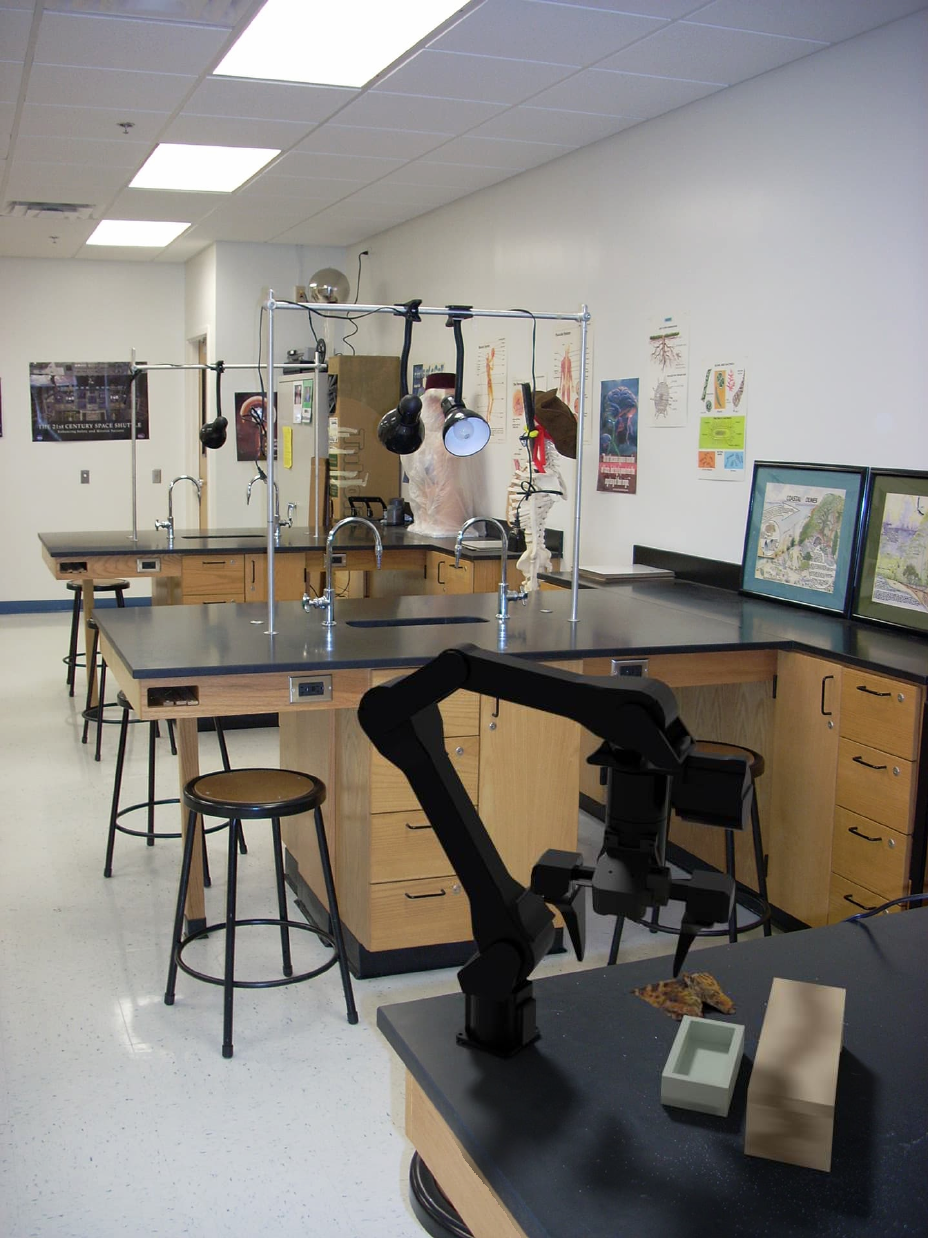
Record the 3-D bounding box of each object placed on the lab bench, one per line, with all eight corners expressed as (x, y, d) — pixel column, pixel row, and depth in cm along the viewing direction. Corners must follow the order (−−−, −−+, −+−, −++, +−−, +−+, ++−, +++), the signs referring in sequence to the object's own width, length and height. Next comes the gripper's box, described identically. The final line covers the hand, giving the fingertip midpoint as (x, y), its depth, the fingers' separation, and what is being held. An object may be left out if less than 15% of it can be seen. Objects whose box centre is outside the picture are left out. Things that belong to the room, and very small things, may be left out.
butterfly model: (622, 998, 130) (623, 972, 129) (713, 977, 135) (714, 952, 134) (668, 1035, 122) (669, 1007, 122) (763, 1011, 127) (764, 984, 127)
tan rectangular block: (744, 1154, 101) (747, 1089, 100) (771, 1032, 122) (774, 977, 121) (829, 1172, 99) (833, 1106, 98) (842, 1044, 119) (845, 989, 118)
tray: (660, 1103, 109) (661, 1075, 108) (683, 1041, 120) (684, 1015, 119) (726, 1117, 107) (728, 1088, 106) (743, 1052, 118) (744, 1026, 117)
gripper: (517, 827, 106) (511, 989, 109) (728, 857, 101) (716, 1026, 103) (548, 791, 117) (541, 939, 119) (740, 816, 111) (729, 971, 114)
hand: (627, 968), depth 114 cm, fingers open, 9 cm apart
